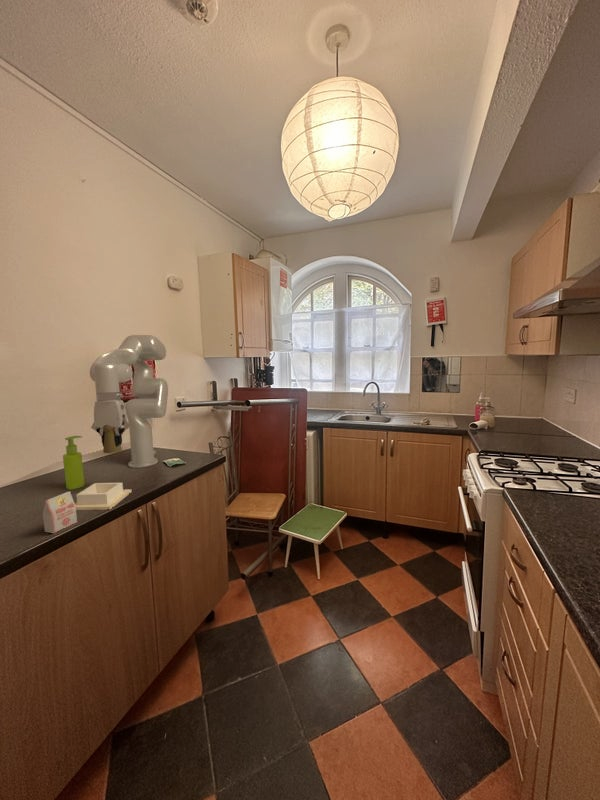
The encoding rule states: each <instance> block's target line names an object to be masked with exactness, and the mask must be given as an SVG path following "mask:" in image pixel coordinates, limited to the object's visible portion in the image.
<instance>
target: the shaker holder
mask: <svg viewBox="0 0 600 800" xmlns="http://www.w3.org/2000/svg"><path fill="white" fill-rule="evenodd" d="M129 493H130V494H131V493H132V489H129V488H128V489H126V488H125V489H124V485H123V482H95V483H92V484H91V485H90V486H88V487H86V488H85V489H83V490H81V491H80V492H78V493H76V495H75V496H76V501H74V503H75V506H76V511H96V510H98V511H99V510H101V511H102V510H104V511H106V510H107V509H109V510H111V509H113V508H114V507H115V506H117V504H119V503H120V502H121V501H123V500H124V499H125V498H126V497H127V496H129V495H130V494H129ZM112 507H113V508H112Z"/></svg>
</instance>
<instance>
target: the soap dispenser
mask: <svg viewBox="0 0 600 800" xmlns="http://www.w3.org/2000/svg"><path fill="white" fill-rule="evenodd" d="M79 438H83V435H82V436H81V435H73V436H67V437H66V438H65V437H64V439H65V441H67V445H66V446H65V451H66V454H64V455H62V460H63V469H64V479H65V488H66V490H77V489H80V488H82V487H84V486H85V476H84V467H83V458H82V452H79V451H78V449H77V448H78V445H77V444H75V443H74V439H79Z"/></svg>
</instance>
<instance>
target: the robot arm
mask: <svg viewBox="0 0 600 800" xmlns="http://www.w3.org/2000/svg"><path fill="white" fill-rule="evenodd" d="M166 356H167V349H166V346H165V344H164V343H163V342H162V341H161V340H160V339H158V337H156V336H154V335H151V334H146V335H145V334H132V335H128V336H126V337H125V339H124V340H123V341H122V342H121V344H120V346H119V347H118V348H117V349H114V350H111V351H109V352H106V353H104V354H102V355H100V356H98V357H97V358H96V359H95V360H94V361H93V363H92V364H91V366H90V368H89V377H90V379H91V380H92V381H93V382H94V384H95V385H94V387H95V397H96V401H95V402H94V407H93V423H92V425H91V427H90V429H92V430H94V431H95V432H96V433H98V435H99V436H100V437H101V444H102V447H103V448H104V435H105V432H104V431H103V426H104V425H110V426H111V427H113V428H115V433H116V436H115V444H116V446H119V444H120V445H121V446H122V444H123V436H122V435H124V432H125V431H127V430H128V431H129V441H130V442H129V443H130V454H131V460H130V461H129V462H128V463H127V464H128V467H130V468H133V469H137V468H138V469H141V468H146V467H151V466H154V465H156V464H157V463H158V461H159V460H158V458H156V457H155V454H157V451H156V450H154V442H153V428H152V425H151V423H150V422H149V421H148V419H160V418H161V419H162V418H163V417H164V416H165V415H166V413H167V405H168V395H169V385H168V382H167V380H165V379H164V378H160V377H154V369H153V368H152V367H151V366H150V365H149V364H148V363H147V362H146V361H162V360H164V359H165V358H166ZM131 366H132V367H131ZM132 368H133V370H132ZM133 371H134V373H133ZM132 377H133V380H132ZM131 380H132V387H131V394H132V395H133V396H134V397H135V398H132V399H130V400H128V401H126V402H125V403H124V401H123V400H122V399H121V398H124V394H123V393H121V391H120V383H127V382H129V381H131Z"/></svg>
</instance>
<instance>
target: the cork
mask: <svg viewBox="0 0 600 800" xmlns="http://www.w3.org/2000/svg"><path fill="white" fill-rule="evenodd" d="M103 431H104V432H105V435H104V447H103V451H102V452H103V454H113V453H119V452H121V451H122V450H123V449H122V444H121V445H120V444H119V446H116V444H115V436H116V433H115V428H113V427H111V426H110V425H104V426H103Z"/></svg>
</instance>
